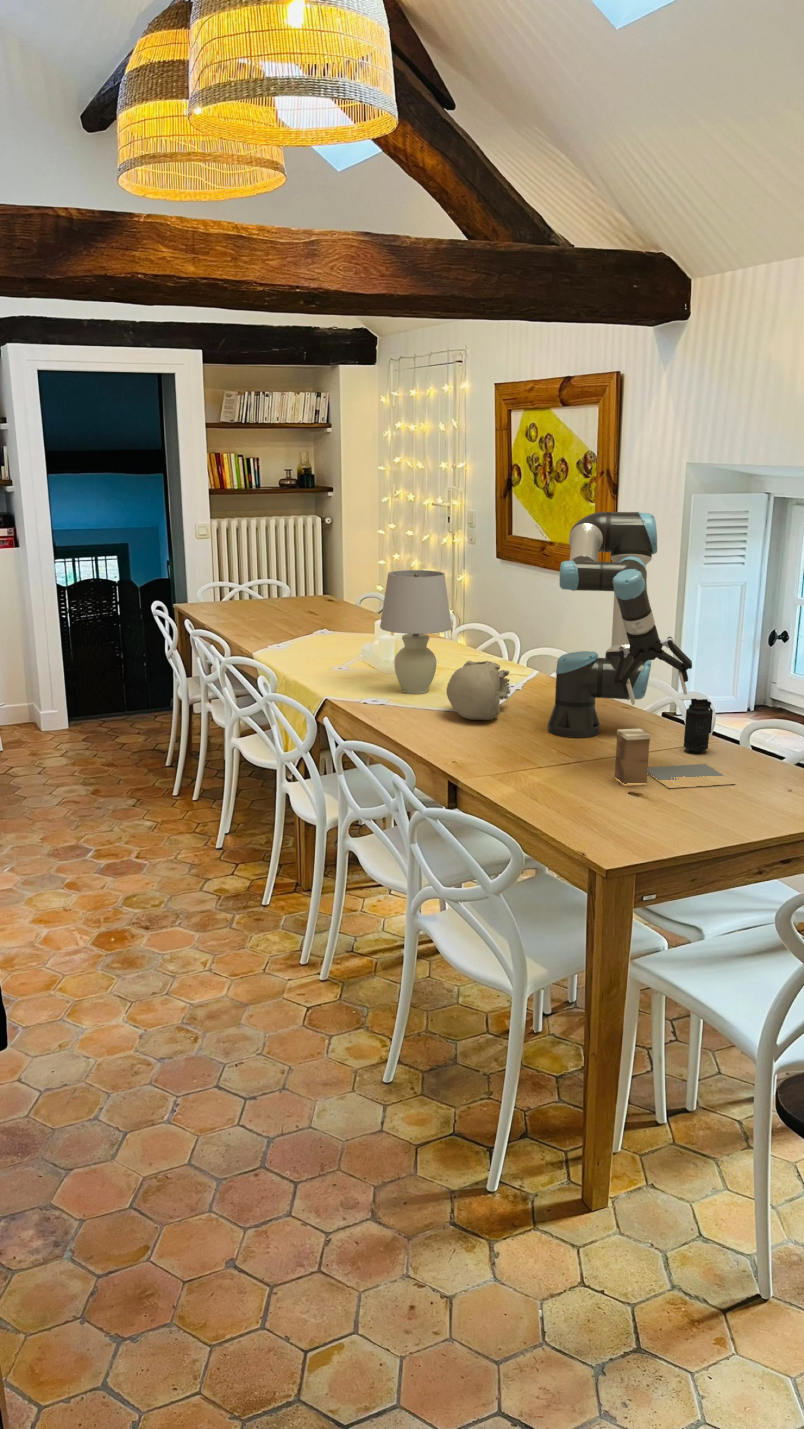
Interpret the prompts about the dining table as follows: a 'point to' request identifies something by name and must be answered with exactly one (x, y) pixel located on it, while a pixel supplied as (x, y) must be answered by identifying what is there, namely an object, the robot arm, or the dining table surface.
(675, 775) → the mat
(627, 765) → the block
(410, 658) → the lamp
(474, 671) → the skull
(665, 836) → the dining table surface
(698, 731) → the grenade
